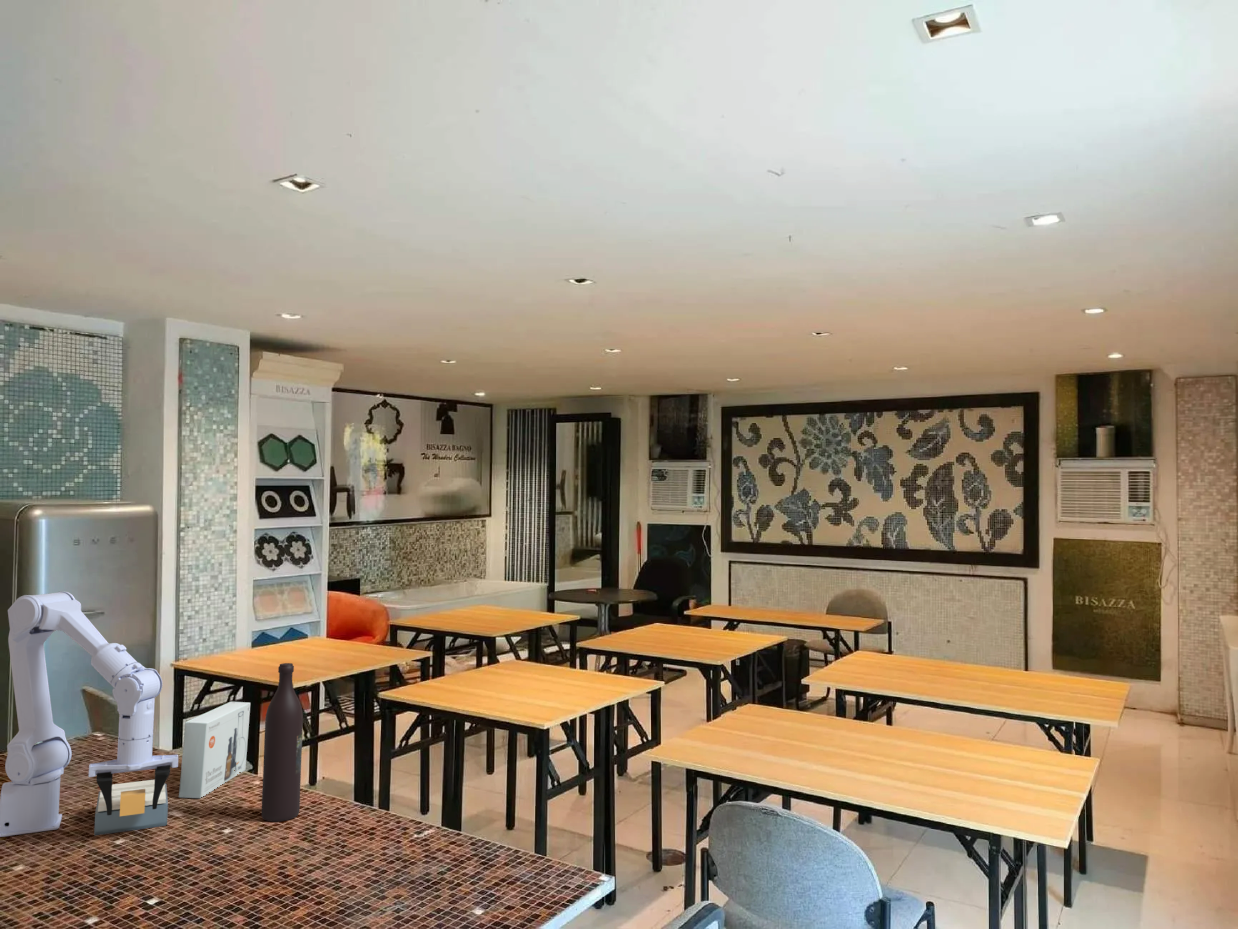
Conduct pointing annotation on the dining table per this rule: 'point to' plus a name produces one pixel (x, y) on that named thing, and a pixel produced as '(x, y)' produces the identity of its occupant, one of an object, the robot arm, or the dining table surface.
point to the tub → (130, 819)
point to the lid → (132, 797)
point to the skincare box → (214, 749)
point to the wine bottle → (282, 751)
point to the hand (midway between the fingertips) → (132, 810)
